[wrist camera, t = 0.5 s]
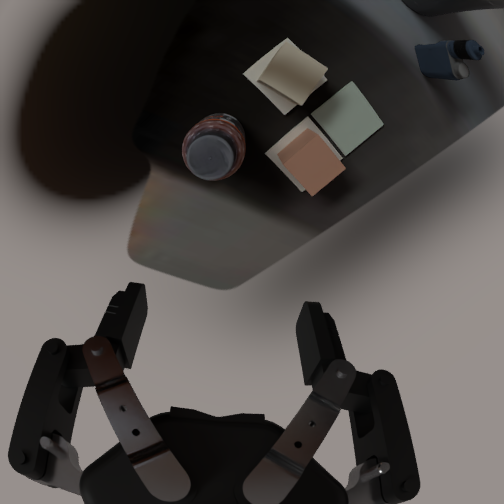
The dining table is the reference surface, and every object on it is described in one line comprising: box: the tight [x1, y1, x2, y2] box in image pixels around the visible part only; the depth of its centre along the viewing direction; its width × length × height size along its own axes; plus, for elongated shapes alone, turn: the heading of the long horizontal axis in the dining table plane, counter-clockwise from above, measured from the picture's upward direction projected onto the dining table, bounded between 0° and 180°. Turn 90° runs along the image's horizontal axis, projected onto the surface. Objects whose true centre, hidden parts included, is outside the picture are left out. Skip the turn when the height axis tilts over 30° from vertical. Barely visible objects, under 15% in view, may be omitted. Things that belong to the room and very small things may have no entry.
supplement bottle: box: [182, 113, 246, 181], centre depth 27 cm, size 6×6×11 cm
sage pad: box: [311, 81, 384, 156], centre depth 30 cm, size 7×7×1 cm
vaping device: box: [415, 40, 484, 80], centre depth 20 cm, size 3×5×12 cm, turn 18°
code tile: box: [265, 117, 343, 192], centre depth 33 cm, size 7×7×1 cm
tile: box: [243, 38, 327, 115], centre depth 27 cm, size 7×7×1 cm
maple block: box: [257, 42, 328, 105], centre depth 25 cm, size 5×5×5 cm
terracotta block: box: [277, 128, 346, 196], centre depth 31 cm, size 5×5×5 cm
